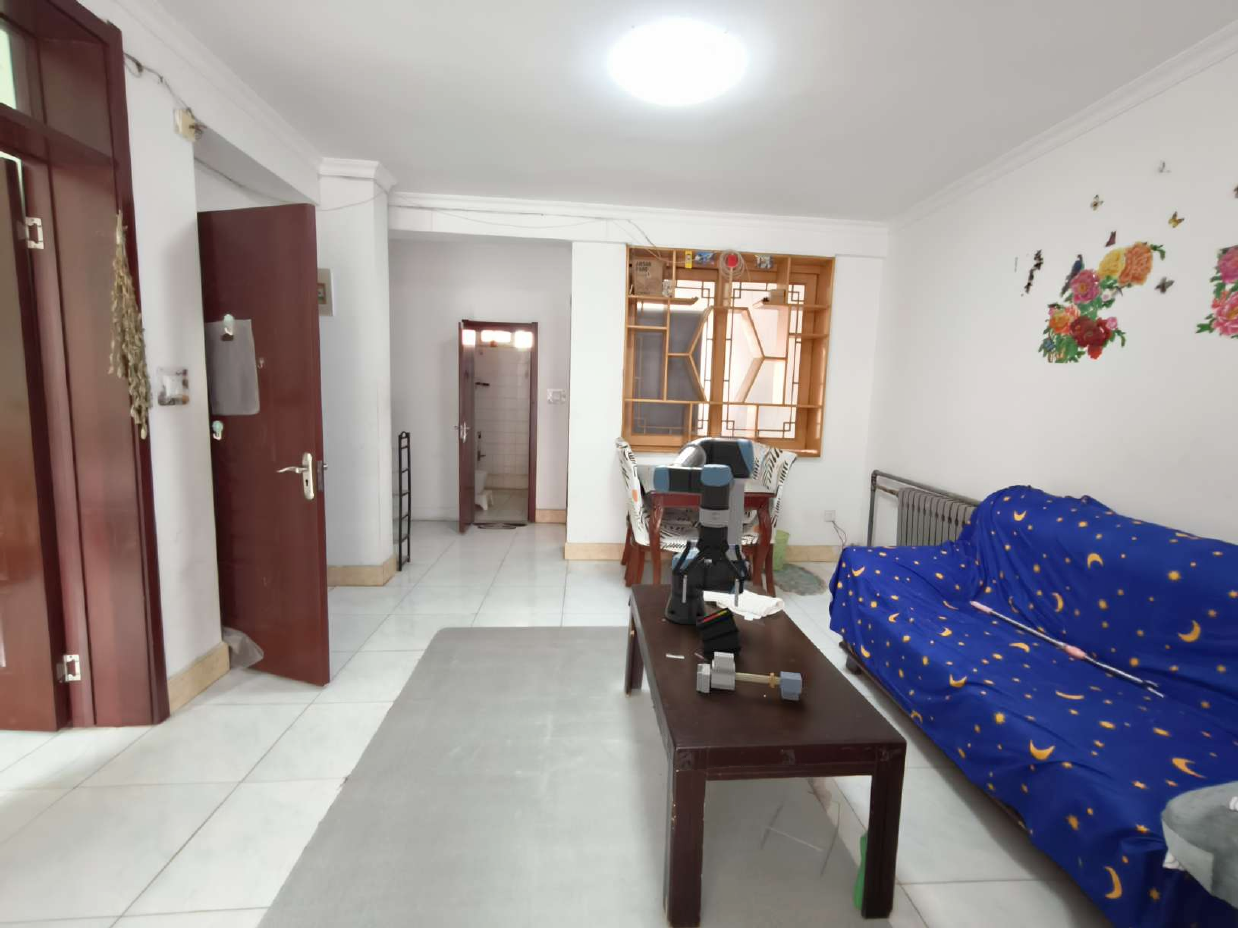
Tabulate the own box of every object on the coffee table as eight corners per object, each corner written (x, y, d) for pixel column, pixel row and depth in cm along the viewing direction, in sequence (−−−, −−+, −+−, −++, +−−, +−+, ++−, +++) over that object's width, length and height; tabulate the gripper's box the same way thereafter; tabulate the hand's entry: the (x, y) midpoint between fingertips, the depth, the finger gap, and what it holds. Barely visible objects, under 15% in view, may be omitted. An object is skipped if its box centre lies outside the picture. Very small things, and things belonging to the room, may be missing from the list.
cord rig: (697, 680, 150) (698, 660, 149) (798, 691, 145) (799, 671, 145) (696, 691, 144) (697, 670, 144) (801, 703, 140) (802, 682, 139)
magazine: (750, 653, 163) (731, 610, 161) (710, 671, 163) (691, 628, 161) (747, 648, 167) (728, 605, 165) (708, 665, 167) (689, 623, 165)
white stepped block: (711, 677, 149) (712, 649, 148) (733, 680, 148) (735, 651, 147) (711, 687, 144) (712, 657, 143) (734, 690, 143) (735, 660, 142)
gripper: (664, 524, 139) (661, 603, 142) (764, 530, 136) (759, 611, 138) (666, 518, 147) (663, 594, 149) (761, 523, 143) (756, 601, 145)
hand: (709, 602), depth 143 cm, fingers open, 13 cm apart
